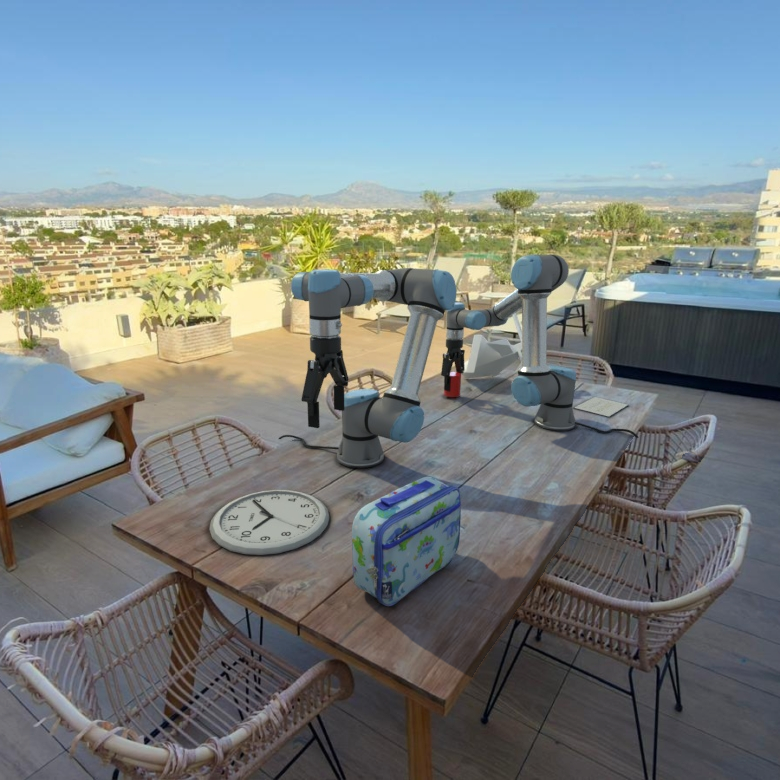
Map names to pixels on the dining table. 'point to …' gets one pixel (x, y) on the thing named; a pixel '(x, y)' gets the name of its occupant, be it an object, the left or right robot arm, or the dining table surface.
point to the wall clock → (269, 522)
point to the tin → (454, 385)
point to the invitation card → (601, 406)
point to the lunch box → (405, 538)
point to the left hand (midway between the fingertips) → (327, 418)
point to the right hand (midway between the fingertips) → (452, 388)
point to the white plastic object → (492, 355)
